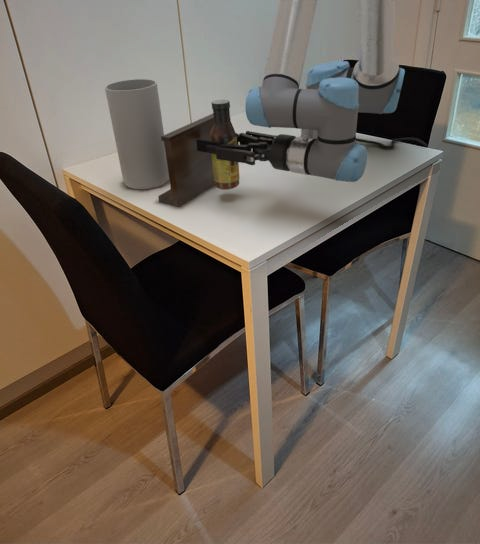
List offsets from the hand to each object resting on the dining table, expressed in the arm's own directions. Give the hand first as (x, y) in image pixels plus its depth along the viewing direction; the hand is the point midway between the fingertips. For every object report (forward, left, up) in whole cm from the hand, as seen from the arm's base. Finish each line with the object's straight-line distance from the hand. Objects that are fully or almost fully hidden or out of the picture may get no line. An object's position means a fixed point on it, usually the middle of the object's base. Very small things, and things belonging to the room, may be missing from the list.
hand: (206, 140), depth 115 cm
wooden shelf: (+5, -3, -14) cm, 15 cm away
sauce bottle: (-4, +3, -11) cm, 12 cm away
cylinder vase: (+19, -9, -14) cm, 25 cm away
